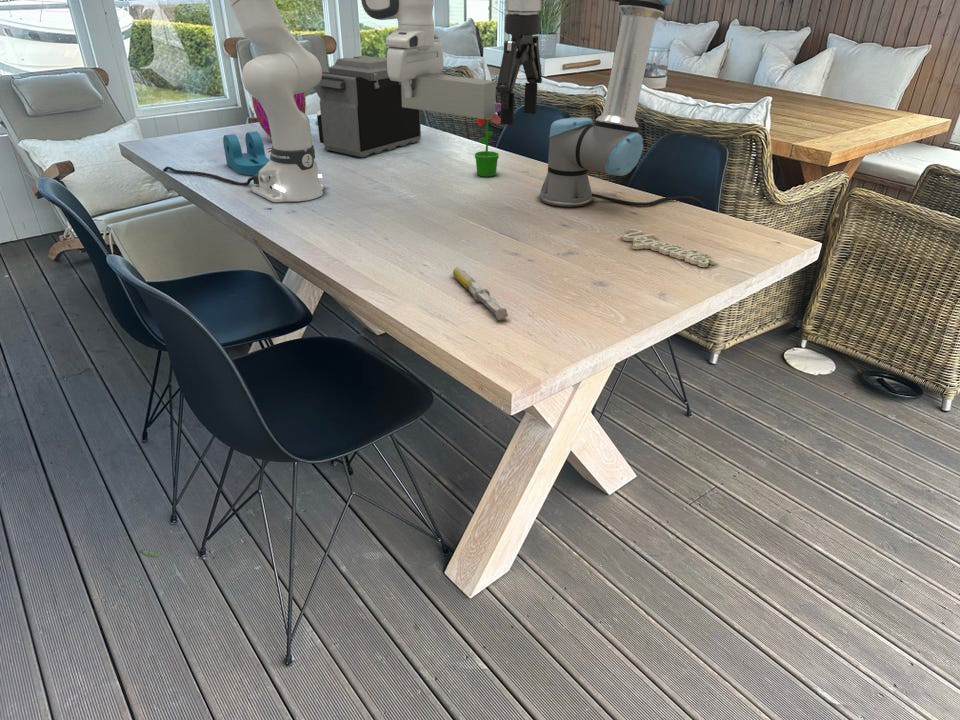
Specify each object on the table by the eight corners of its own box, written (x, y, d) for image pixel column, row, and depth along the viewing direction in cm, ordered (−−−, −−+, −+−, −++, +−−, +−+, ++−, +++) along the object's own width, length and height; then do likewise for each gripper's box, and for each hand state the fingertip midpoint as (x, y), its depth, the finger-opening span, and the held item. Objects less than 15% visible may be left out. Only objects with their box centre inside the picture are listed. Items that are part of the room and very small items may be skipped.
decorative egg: (293, 132, 276) (283, 50, 261) (319, 140, 264) (310, 56, 249) (249, 139, 265) (236, 54, 250) (273, 148, 253) (261, 60, 238)
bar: (495, 115, 172) (496, 81, 168) (483, 119, 167) (484, 84, 163) (414, 103, 182) (413, 71, 178) (401, 107, 177) (400, 73, 173)
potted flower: (480, 178, 221) (480, 97, 208) (469, 172, 227) (469, 93, 214) (505, 175, 225) (507, 94, 212) (494, 169, 231) (495, 90, 218)
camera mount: (227, 164, 233) (221, 132, 227) (257, 160, 238) (252, 129, 233) (244, 176, 220) (239, 143, 215) (276, 172, 225) (271, 139, 220)
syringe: (449, 274, 155) (449, 263, 153) (465, 272, 156) (464, 260, 154) (490, 323, 135) (491, 310, 133) (508, 319, 136) (508, 307, 134)
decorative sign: (608, 236, 174) (633, 227, 180) (608, 240, 175) (632, 231, 180) (698, 267, 157) (722, 256, 163) (698, 271, 158) (721, 260, 163)
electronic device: (383, 133, 276) (378, 52, 261) (425, 141, 265) (422, 56, 250) (314, 150, 251) (304, 61, 235) (358, 160, 240) (350, 67, 224)
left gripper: (428, 32, 179) (429, 88, 186) (381, 39, 164) (384, 100, 171) (449, 34, 176) (449, 91, 183) (403, 41, 161) (404, 103, 168)
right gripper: (528, 9, 155) (524, 107, 165) (481, 16, 135) (480, 127, 146) (559, 10, 152) (553, 110, 163) (516, 17, 132) (512, 131, 143)
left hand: (417, 95), depth 177 cm, fingers closed on bar, 6 cm apart
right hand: (518, 118), depth 154 cm, fingers open, 13 cm apart
